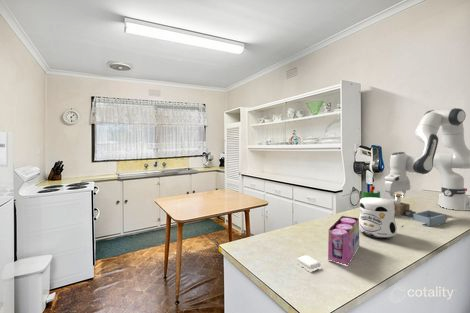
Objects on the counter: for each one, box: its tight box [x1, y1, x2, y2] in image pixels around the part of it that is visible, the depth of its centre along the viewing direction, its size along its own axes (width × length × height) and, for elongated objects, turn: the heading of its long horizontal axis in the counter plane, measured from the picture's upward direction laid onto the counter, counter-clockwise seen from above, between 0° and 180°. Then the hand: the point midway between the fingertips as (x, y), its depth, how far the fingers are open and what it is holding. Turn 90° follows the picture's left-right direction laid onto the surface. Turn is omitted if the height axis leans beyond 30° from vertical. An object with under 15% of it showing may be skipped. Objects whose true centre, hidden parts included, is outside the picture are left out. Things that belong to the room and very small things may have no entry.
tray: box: [412, 210, 447, 228], centre depth 136 cm, size 15×9×5 cm, turn 112°
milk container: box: [358, 197, 398, 239], centre depth 122 cm, size 17×17×18 cm
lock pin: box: [394, 193, 402, 205], centre depth 152 cm, size 4×4×12 cm
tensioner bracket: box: [393, 200, 417, 219], centre depth 149 cm, size 12×16×8 cm
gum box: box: [327, 215, 360, 266], centre depth 102 cm, size 24×8×14 cm, turn 141°
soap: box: [296, 254, 322, 269], centre depth 94 cm, size 9×7×3 cm
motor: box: [361, 185, 381, 199], centre depth 153 cm, size 10×9×20 cm
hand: (397, 198), depth 151 cm, fingers open, 8 cm apart
